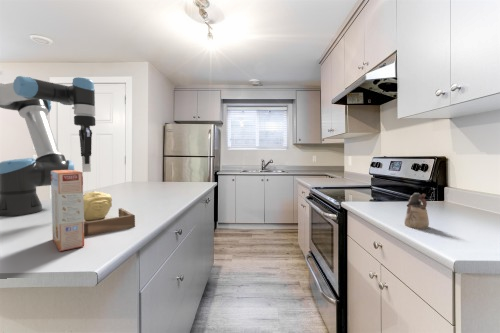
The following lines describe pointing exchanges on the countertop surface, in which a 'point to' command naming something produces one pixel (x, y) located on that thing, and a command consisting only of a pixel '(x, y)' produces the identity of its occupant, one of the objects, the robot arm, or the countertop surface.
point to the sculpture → (96, 205)
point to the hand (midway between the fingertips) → (86, 171)
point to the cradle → (110, 223)
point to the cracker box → (67, 209)
